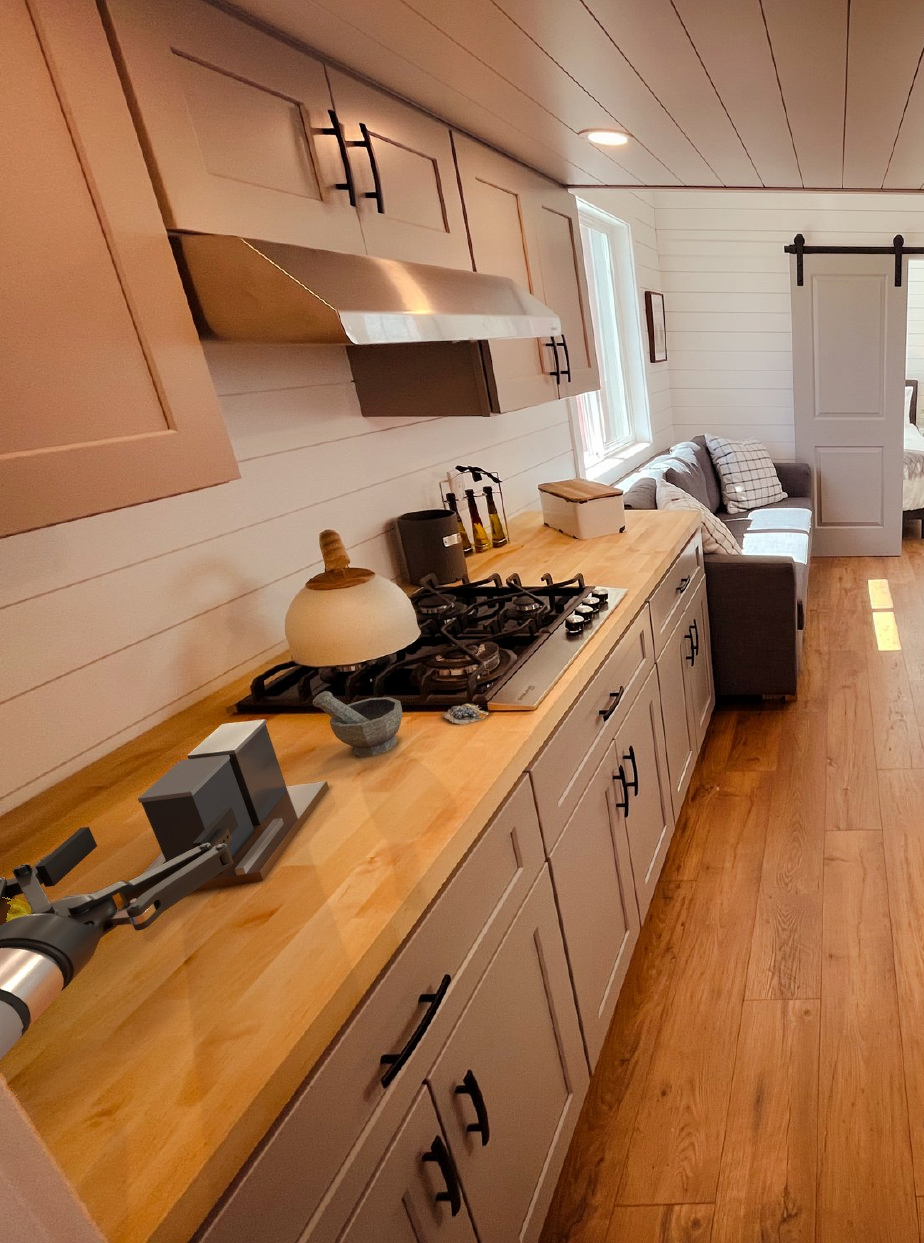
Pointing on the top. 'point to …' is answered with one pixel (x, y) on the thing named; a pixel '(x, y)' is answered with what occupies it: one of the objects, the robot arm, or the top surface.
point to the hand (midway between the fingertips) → (162, 826)
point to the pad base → (276, 848)
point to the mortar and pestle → (363, 722)
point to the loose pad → (195, 804)
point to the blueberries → (464, 714)
